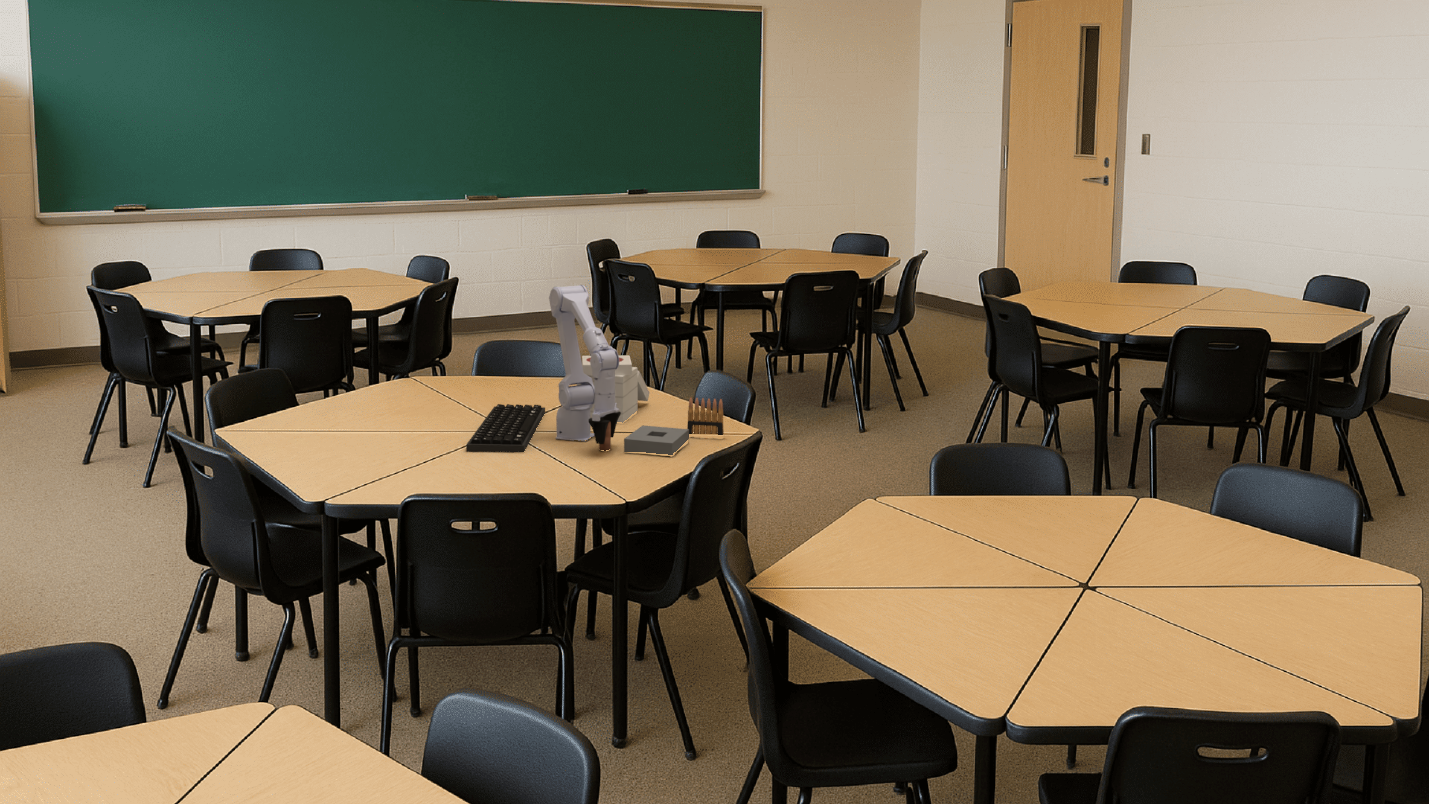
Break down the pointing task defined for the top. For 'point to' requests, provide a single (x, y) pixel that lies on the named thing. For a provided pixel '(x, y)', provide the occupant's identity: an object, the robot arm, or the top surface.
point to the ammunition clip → (705, 417)
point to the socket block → (656, 440)
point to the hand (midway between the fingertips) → (604, 440)
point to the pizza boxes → (623, 386)
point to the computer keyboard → (506, 429)
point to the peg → (607, 439)
